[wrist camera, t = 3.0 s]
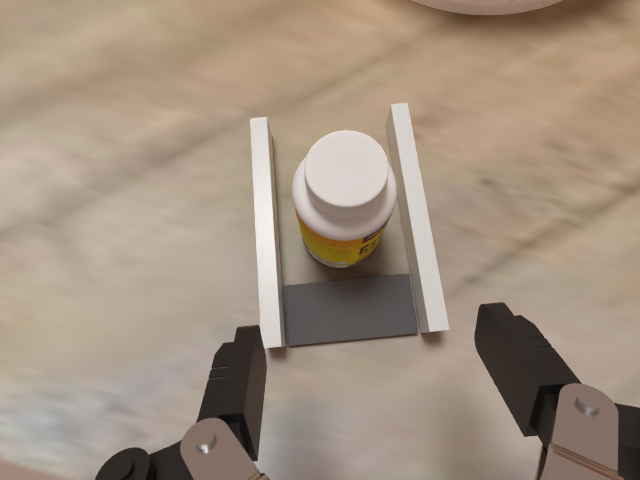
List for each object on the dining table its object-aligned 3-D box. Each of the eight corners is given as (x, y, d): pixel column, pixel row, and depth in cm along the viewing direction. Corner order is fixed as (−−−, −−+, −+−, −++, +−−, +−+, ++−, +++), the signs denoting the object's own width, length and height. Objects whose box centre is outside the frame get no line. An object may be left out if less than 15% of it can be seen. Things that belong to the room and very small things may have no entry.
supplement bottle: (360, 282, 26) (378, 244, 16) (289, 250, 27) (264, 194, 17) (391, 214, 27) (425, 140, 17) (322, 184, 28) (317, 98, 18)
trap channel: (438, 331, 25) (449, 329, 22) (268, 348, 25) (261, 348, 22) (401, 122, 29) (407, 102, 27) (256, 137, 29) (250, 118, 27)
